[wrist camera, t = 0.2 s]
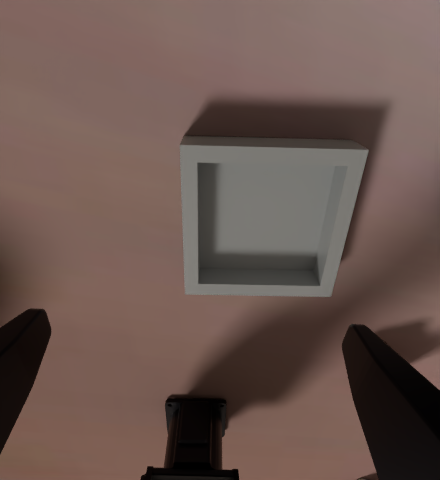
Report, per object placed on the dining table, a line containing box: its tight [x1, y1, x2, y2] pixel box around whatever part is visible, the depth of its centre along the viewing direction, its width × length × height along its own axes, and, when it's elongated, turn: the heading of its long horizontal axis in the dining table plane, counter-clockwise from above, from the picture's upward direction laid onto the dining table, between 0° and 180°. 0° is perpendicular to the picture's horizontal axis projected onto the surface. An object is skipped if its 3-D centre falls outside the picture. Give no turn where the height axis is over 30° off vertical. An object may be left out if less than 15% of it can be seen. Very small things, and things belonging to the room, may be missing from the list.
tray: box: [180, 135, 369, 297], centre depth 22 cm, size 11×11×3 cm
